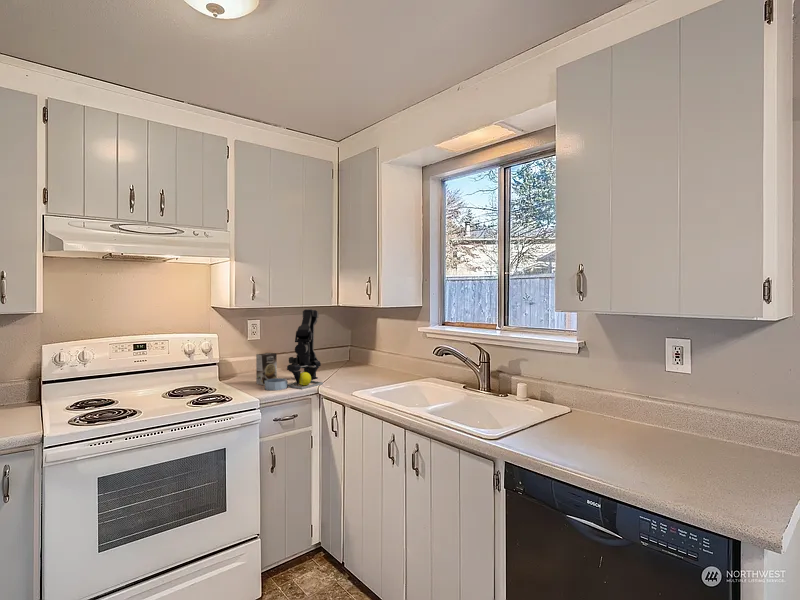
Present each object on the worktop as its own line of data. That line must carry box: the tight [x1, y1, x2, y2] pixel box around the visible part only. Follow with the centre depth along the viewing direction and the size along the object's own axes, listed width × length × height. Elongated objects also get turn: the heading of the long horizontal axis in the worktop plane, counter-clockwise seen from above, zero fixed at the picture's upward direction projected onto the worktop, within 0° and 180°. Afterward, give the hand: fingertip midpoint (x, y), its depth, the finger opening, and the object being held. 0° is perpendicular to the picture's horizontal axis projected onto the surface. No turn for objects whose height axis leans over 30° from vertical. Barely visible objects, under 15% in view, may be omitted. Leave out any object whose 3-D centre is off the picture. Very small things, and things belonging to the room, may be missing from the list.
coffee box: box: [255, 352, 278, 386], centre depth 250 cm, size 9×6×16 cm
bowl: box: [264, 377, 288, 391], centre depth 238 cm, size 11×11×4 cm
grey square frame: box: [287, 379, 324, 390], centre depth 244 cm, size 15×13×1 cm
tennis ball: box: [298, 371, 311, 387], centre depth 244 cm, size 7×7×7 cm
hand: (304, 381), depth 244 cm, fingers open, 9 cm apart
